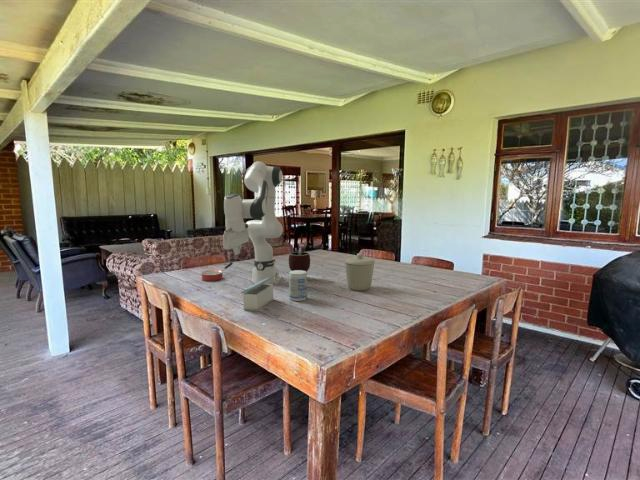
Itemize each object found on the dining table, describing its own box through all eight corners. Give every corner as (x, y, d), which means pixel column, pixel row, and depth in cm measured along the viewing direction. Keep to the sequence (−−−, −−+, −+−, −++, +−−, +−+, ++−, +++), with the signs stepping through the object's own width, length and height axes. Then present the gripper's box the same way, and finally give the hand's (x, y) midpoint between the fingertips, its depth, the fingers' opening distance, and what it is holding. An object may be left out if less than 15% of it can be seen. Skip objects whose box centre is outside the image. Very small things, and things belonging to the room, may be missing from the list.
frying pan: (220, 270, 261) (220, 261, 260) (237, 271, 258) (237, 262, 257) (197, 281, 229) (197, 271, 229) (217, 282, 227) (216, 272, 226)
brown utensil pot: (309, 282, 226) (309, 250, 224) (287, 282, 227) (287, 250, 224) (310, 276, 242) (310, 246, 239) (290, 276, 242) (289, 246, 239)
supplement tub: (300, 302, 185) (300, 274, 183) (285, 300, 190) (285, 272, 188) (310, 297, 194) (310, 271, 192) (295, 295, 198) (295, 269, 196)
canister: (373, 293, 201) (374, 256, 199) (341, 291, 205) (342, 255, 202) (375, 285, 219) (376, 251, 216) (345, 283, 223) (346, 250, 220)
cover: (259, 283, 192) (258, 281, 192) (272, 278, 190) (271, 276, 190) (241, 293, 173) (240, 292, 173) (256, 287, 171) (255, 286, 171)
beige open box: (261, 298, 193) (260, 283, 192) (273, 299, 191) (273, 284, 190) (243, 310, 174) (243, 294, 173) (257, 311, 172) (256, 295, 171)
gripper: (229, 230, 167) (232, 259, 170) (250, 224, 186) (252, 250, 189) (217, 230, 169) (220, 259, 171) (239, 224, 188) (241, 250, 191)
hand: (237, 254), depth 180 cm, fingers closed
